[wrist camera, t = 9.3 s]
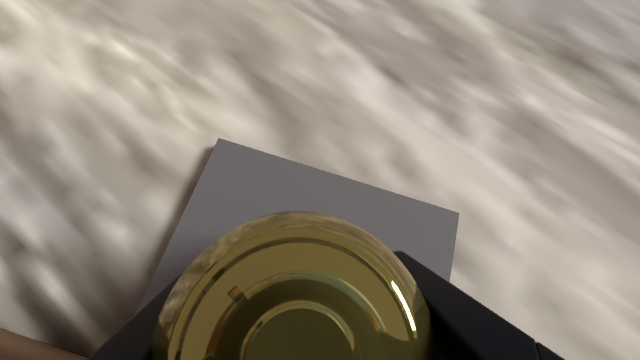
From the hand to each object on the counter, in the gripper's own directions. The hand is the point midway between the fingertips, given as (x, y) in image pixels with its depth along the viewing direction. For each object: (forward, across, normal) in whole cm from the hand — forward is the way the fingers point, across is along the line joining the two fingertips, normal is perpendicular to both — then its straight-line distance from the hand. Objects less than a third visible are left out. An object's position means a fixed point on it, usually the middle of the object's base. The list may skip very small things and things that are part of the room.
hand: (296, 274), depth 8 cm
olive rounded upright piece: (+4, 0, +6) cm, 7 cm away
